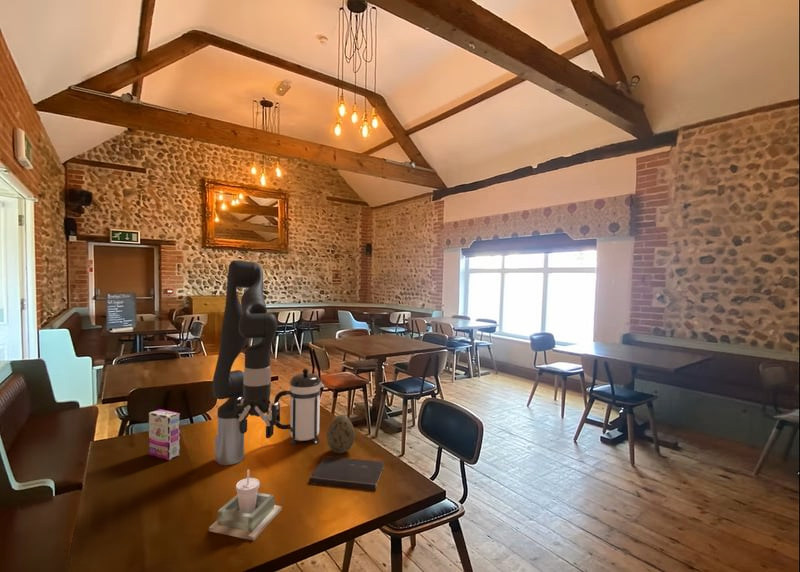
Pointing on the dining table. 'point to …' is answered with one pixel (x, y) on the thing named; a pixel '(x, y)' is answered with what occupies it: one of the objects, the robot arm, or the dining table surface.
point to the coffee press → (303, 407)
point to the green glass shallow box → (246, 518)
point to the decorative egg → (340, 434)
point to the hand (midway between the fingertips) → (256, 435)
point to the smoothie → (247, 494)
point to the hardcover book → (348, 473)
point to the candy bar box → (164, 434)
